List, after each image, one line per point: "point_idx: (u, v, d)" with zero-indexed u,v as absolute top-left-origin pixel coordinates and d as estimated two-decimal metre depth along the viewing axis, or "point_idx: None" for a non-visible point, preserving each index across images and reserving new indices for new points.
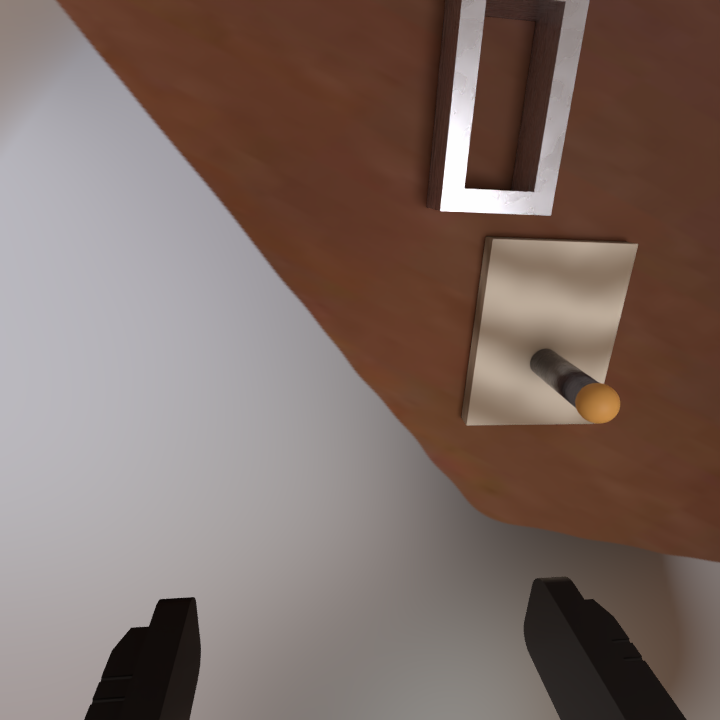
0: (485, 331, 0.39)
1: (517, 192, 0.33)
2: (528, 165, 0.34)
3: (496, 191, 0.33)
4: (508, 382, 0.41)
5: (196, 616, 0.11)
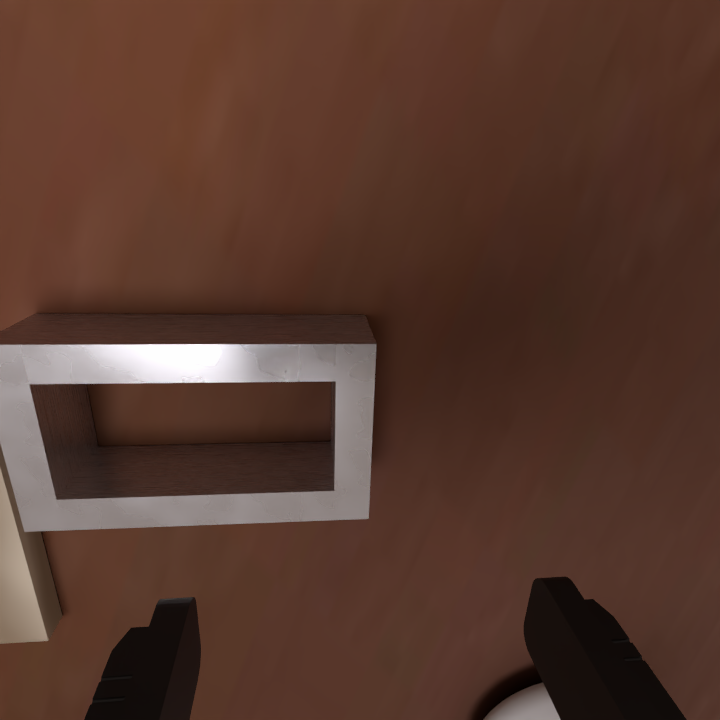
0: None
1: (48, 474, 0.19)
2: (118, 475, 0.21)
3: (40, 440, 0.18)
4: None
5: (196, 616, 0.11)
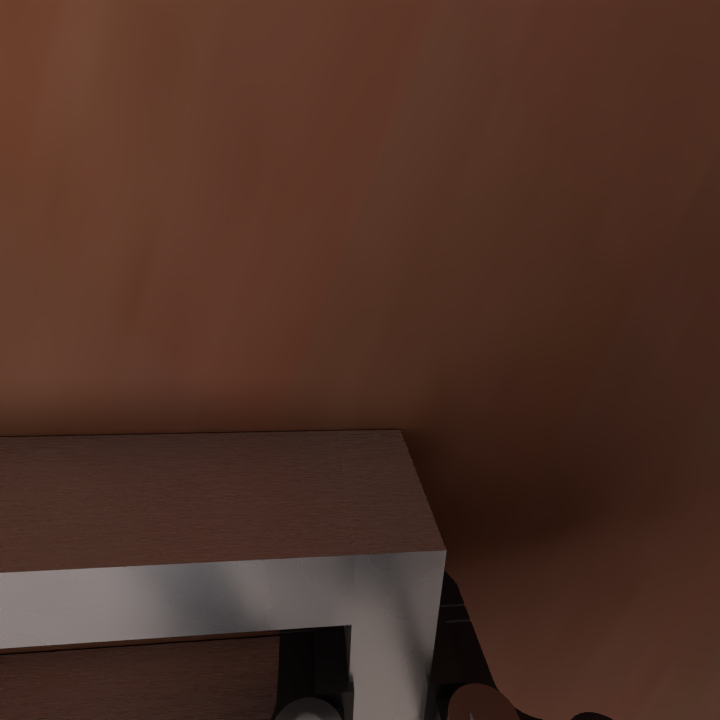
0: None
1: None
2: None
3: None
4: None
5: None
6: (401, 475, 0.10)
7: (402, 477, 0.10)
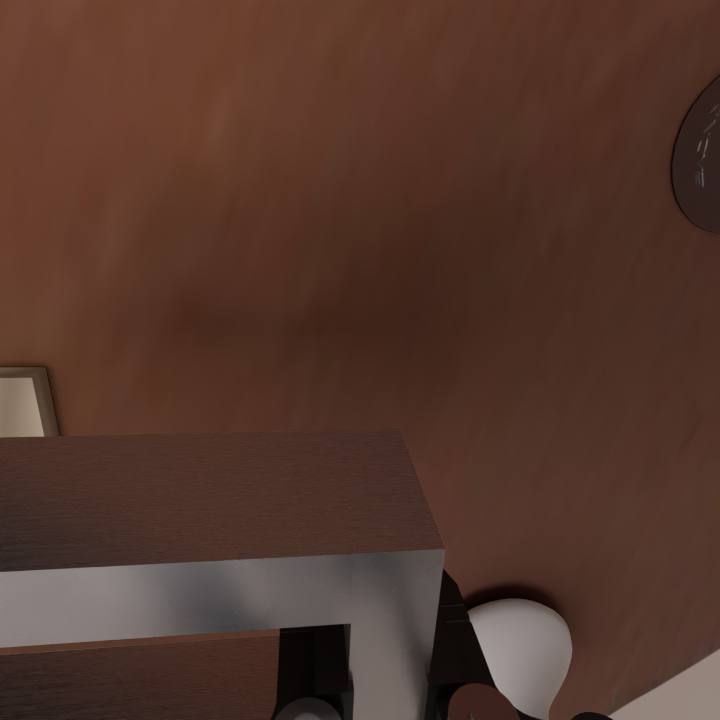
0: None
1: None
2: None
3: None
4: None
5: None
6: (400, 474, 0.10)
7: (401, 476, 0.10)
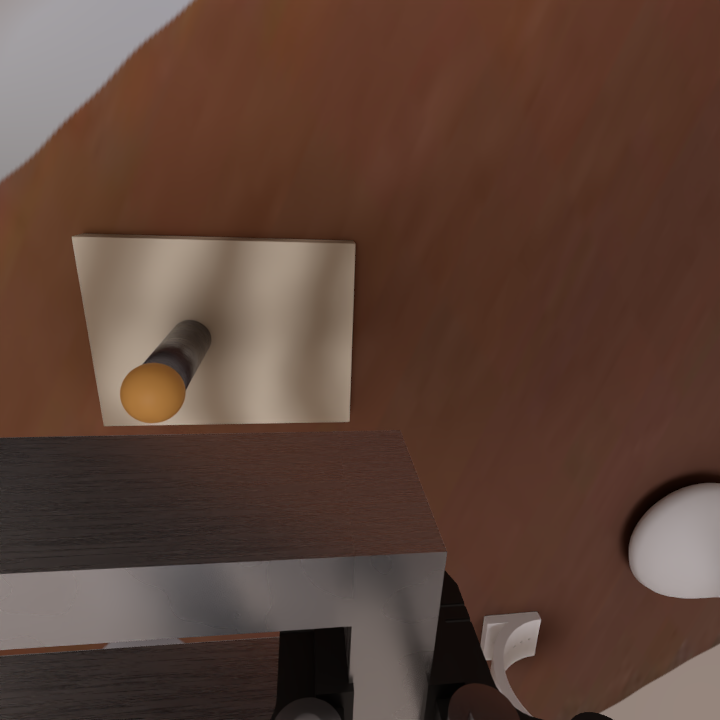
0: (229, 249, 0.28)
1: None
2: None
3: None
4: (154, 293, 0.28)
5: None
6: (401, 476, 0.10)
7: (402, 478, 0.10)
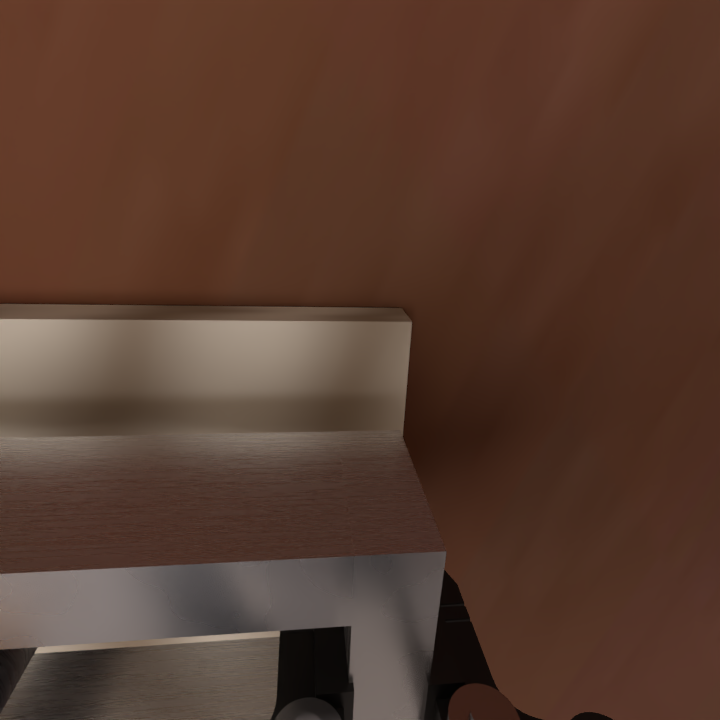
0: (132, 337, 0.12)
1: None
2: None
3: None
4: None
5: None
6: (401, 476, 0.10)
7: (402, 478, 0.10)
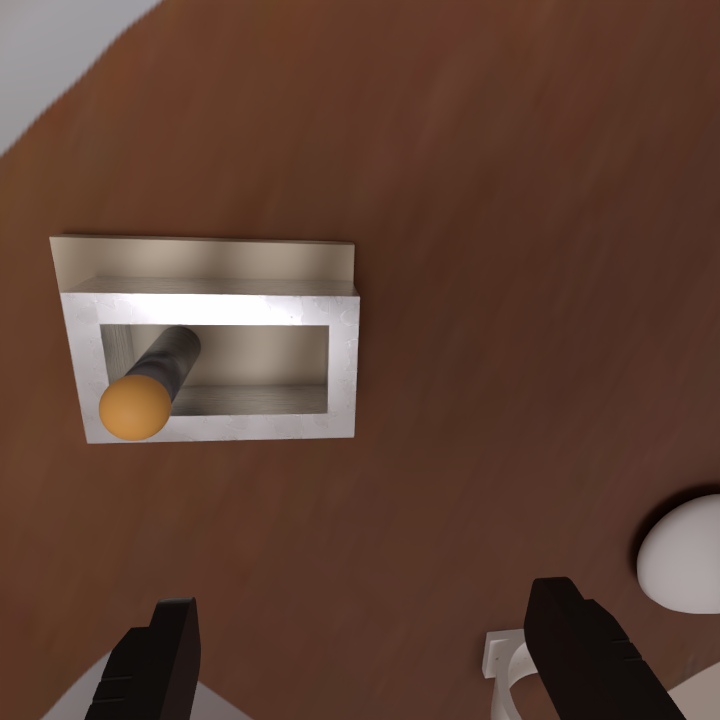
0: (220, 250, 0.26)
1: None
2: None
3: (104, 368, 0.24)
4: None
5: (196, 616, 0.11)
6: (349, 287, 0.26)
7: (349, 287, 0.26)
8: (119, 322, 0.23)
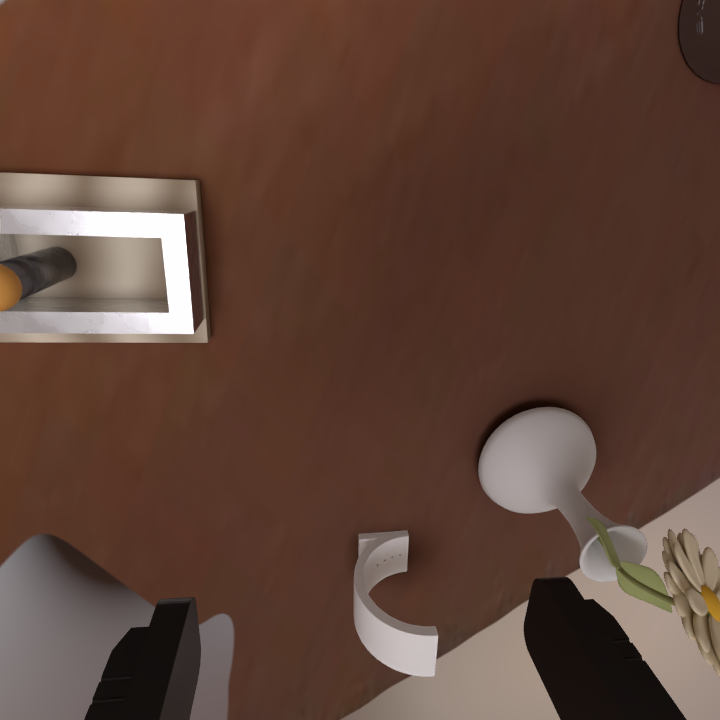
0: (84, 183, 0.33)
1: None
2: (36, 305, 0.33)
3: None
4: None
5: (196, 616, 0.11)
6: (185, 211, 0.33)
7: (185, 211, 0.32)
8: None
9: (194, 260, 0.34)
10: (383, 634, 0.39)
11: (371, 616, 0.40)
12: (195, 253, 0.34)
